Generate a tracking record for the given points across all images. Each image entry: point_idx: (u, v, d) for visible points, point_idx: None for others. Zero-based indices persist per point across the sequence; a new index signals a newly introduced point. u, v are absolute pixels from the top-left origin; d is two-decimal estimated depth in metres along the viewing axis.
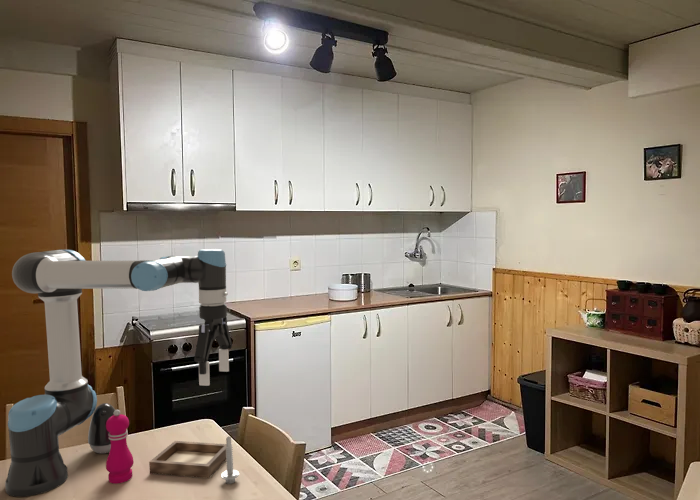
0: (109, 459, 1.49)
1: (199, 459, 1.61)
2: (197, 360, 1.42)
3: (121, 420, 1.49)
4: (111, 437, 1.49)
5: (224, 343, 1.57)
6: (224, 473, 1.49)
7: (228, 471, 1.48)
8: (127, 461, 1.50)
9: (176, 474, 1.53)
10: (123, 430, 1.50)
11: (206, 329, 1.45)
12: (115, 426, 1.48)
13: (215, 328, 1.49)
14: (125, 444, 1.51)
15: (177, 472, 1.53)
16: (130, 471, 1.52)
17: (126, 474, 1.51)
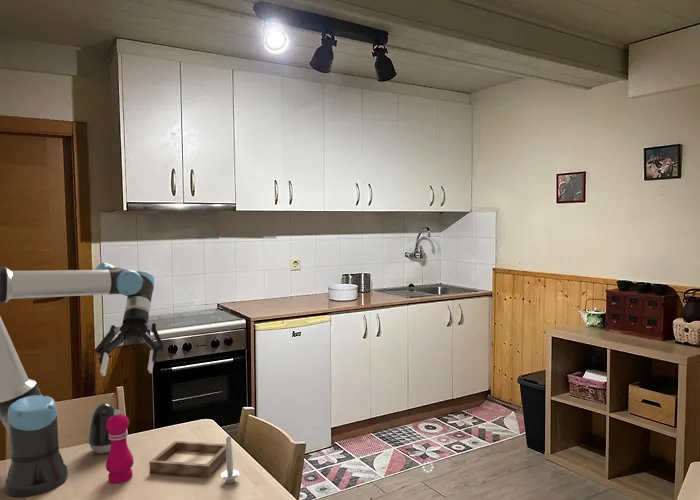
0: (109, 459, 1.49)
1: (199, 459, 1.61)
2: (163, 347, 1.66)
3: (121, 420, 1.49)
4: (111, 437, 1.49)
5: (112, 350, 1.66)
6: (224, 473, 1.49)
7: (228, 471, 1.48)
8: (127, 461, 1.50)
9: (176, 474, 1.53)
10: (123, 430, 1.50)
11: (156, 329, 1.72)
12: (115, 426, 1.48)
13: None
14: (125, 444, 1.51)
15: (177, 472, 1.53)
16: (130, 471, 1.52)
17: (126, 474, 1.51)
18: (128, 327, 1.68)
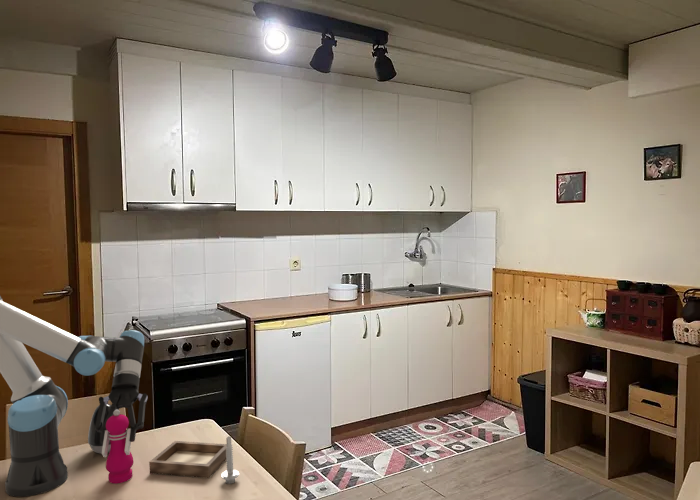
0: (109, 459, 1.49)
1: (199, 459, 1.61)
2: (142, 425, 1.54)
3: (121, 420, 1.49)
4: (111, 437, 1.49)
5: None
6: (224, 473, 1.49)
7: (228, 471, 1.48)
8: (127, 461, 1.50)
9: (176, 474, 1.53)
10: (123, 430, 1.50)
11: (146, 400, 1.60)
12: (115, 426, 1.48)
13: None
14: None
15: (177, 472, 1.53)
16: (130, 471, 1.52)
17: (126, 474, 1.51)
18: (118, 394, 1.57)
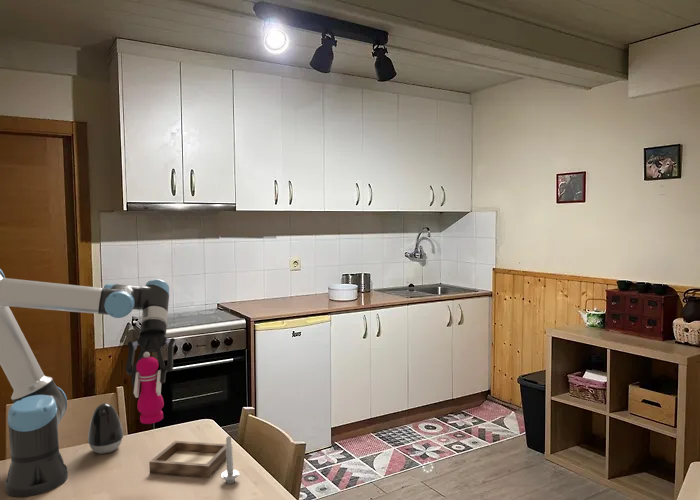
0: (140, 400, 1.52)
1: (199, 459, 1.61)
2: (171, 367, 1.56)
3: (151, 361, 1.52)
4: (142, 378, 1.51)
5: None
6: (224, 473, 1.49)
7: (228, 471, 1.48)
8: (158, 402, 1.52)
9: (176, 474, 1.53)
10: (153, 371, 1.52)
11: (174, 345, 1.62)
12: (145, 367, 1.50)
13: None
14: (155, 385, 1.54)
15: (177, 472, 1.53)
16: (161, 413, 1.54)
17: (157, 415, 1.53)
18: (146, 339, 1.59)
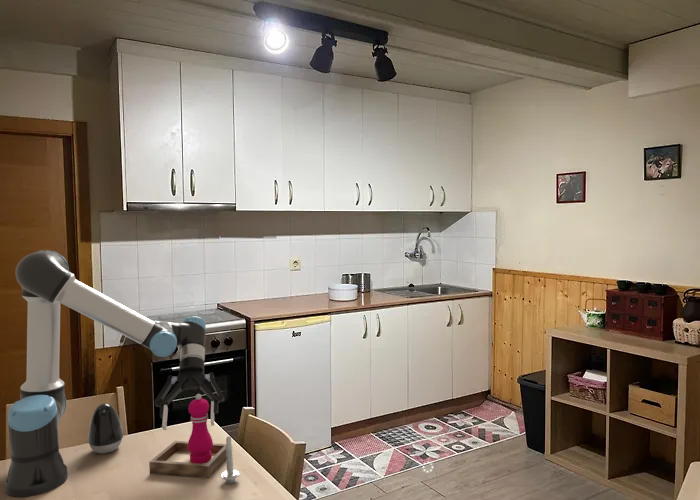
0: (192, 441, 1.57)
1: None
2: (223, 398, 1.63)
3: (203, 403, 1.58)
4: (194, 420, 1.57)
5: (170, 401, 1.62)
6: (224, 473, 1.49)
7: (228, 471, 1.48)
8: (208, 443, 1.58)
9: (176, 474, 1.53)
10: (205, 413, 1.58)
11: None
12: (198, 409, 1.56)
13: None
14: (206, 427, 1.60)
15: (177, 472, 1.53)
16: (210, 453, 1.60)
17: (207, 455, 1.59)
18: (186, 377, 1.65)
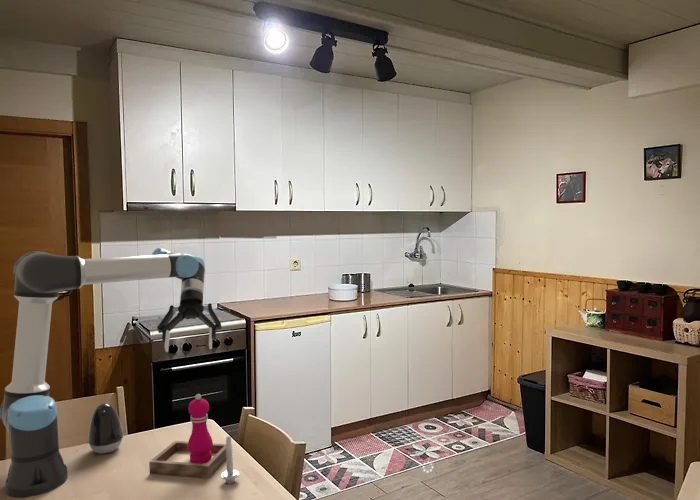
0: (192, 441, 1.57)
1: None
2: (220, 325, 1.78)
3: (203, 403, 1.58)
4: (194, 420, 1.57)
5: (172, 328, 1.76)
6: (224, 473, 1.49)
7: (228, 471, 1.48)
8: (208, 443, 1.58)
9: (176, 474, 1.53)
10: (205, 413, 1.58)
11: None
12: (198, 409, 1.56)
13: None
14: (206, 427, 1.60)
15: (177, 472, 1.53)
16: (210, 453, 1.60)
17: (207, 455, 1.59)
18: (186, 307, 1.79)
